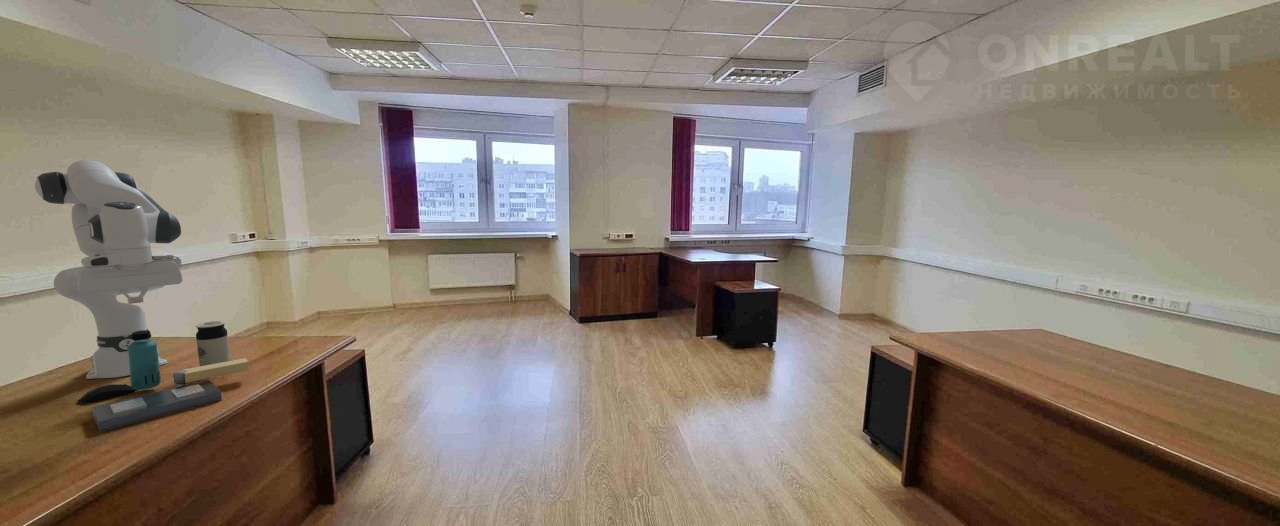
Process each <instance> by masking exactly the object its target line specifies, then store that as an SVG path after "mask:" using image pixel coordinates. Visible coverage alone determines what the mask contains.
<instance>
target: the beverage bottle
mask: <svg viewBox="0 0 1280 526" xmlns="http://www.w3.org/2000/svg"><path fill="white" fill-rule="evenodd" d="M148 330H149V329H148ZM148 330H141V331H136V332H133V333H132V337H131V339H132V340H138V341H135V342H133V343H131V344H130V345H129V346H128V347H127V348H128V355H129V364H130V370H129V372H130V373H129V374H130V375H129V376H130V386H132V388H133V389H134V390H137V391H143V390H149V389H153V388H156V387H157V386H159V385H160V384H161V378H162V377H161V376H162V375H161V370H160V366H159V360H158V359H159V358H160V353H159V354H158V352H159V350H158V351H157V347H158V343H157V341H155V340H152V339H151V338H152V333H151V331H150V330H149V331H148ZM148 338H150V339H149V340H144V339H148ZM158 355H159V357H158Z"/></svg>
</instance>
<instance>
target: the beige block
mask: <svg viewBox="0 0 1280 526" xmlns="http://www.w3.org/2000/svg"><path fill="white" fill-rule="evenodd" d="M245 371H249V362H248V360H247V358H246V357H244V358H238V359H233V360H230V361H227V362H222V363H216V364H211V365H205V366H200V365H199V366H196V367H190V368H184V369H183V370H178V371H174V372H173V373H172V379H173V383H174V384H176V383H182V382H185V381H186V383H189V382H190V383H191V382H195V381H196V382H197V381H203V380H205V379H206V380H208V379H211V378H215V377H216V378H217V377H220V376H221V377H222V376H226V375H230V374H236V373H241V372H245Z"/></svg>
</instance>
